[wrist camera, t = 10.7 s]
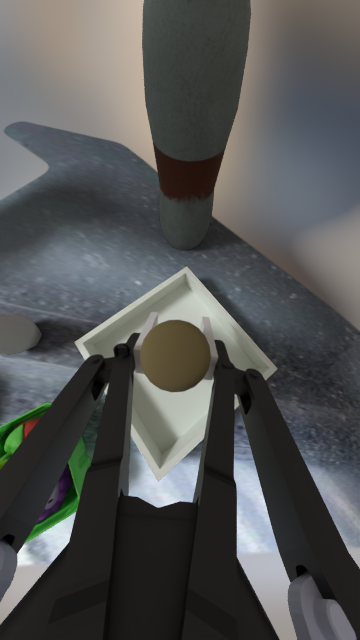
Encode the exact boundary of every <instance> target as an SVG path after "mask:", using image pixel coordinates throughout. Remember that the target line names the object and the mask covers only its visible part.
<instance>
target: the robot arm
mask: <svg viewBox="0 0 360 640" xmlns="http://www.w3.org/2000/svg"><path fill="white" fill-rule="evenodd" d="M156 325H158V312H151V313H150V315H149V318H148V320H147V322H146V324H145V326H144V328H143V330H142V332H141V333H135V332H134V333H133V334H131V335H130V337H129V339H128V340H127V342H126V343H120V344H117V345H116V346H115V347H114V348H113V351H114V357H110V358H104V356H102V355H100V354H95V355H92V356H90V357H88V358H87V359H86V360H85V362H84V363H83V364H82V366H81V367H80V368H79V369H78V371H77V372H76V373H75V375H74V376H73V377H72V378H71V380H70V381H69V382H68V384H67V385H66V386H65V387H64V389H63V390H62V391H61V392H60V394H59V395H58V396H57V398H56V399H55V400H54V401H53V403H52V404H51V405H50V407H49V408H48V409H47V410H46V412H45V413H44V414H43V416H42V417H41V418H40V419H39V421H38V422H37V423H36V425H35V426H34V427H33V428H32V430H31V431H30V432H29V434H28V435H27V436H26V437H25V439H24V440H23V441H22V442H21V444H20V445H19V446H18V448H17V449H16V450H15V451H14V453H13V454H12V455H11V457H10V458H9V459H8V460H7V462H6V463H5V464H4V466H3V467H2V468H1V469H0V602H1V600H2V598H3V596H4V594H5V592H6V591H7V589H8V588H9V586H10V584H11V582H12V580H13V577H14V573H15V571H16V566H17V553H18V552H19V550H20V549H21V548H22V546H23V544H24V543H25V541H26V540H27V538H28V536H29V535H30V533H31V531H32V530H33V528H34V527H35V525H36V523H37V521H38V519H39V518H40V516H41V514H42V512H43V510H44V508H45V506H46V504H47V502H48V501H49V499H50V497H51V495H52V493H53V491H54V489H55V487H56V485H57V483H58V481H59V479H60V477H61V475H62V473H63V471H64V469H65V467H66V465H67V463H68V461H69V459H70V457H71V455H72V453H73V452H74V450H75V448H76V446H77V444H78V442H79V440H80V438H81V436H82V434H83V432H84V430H85V428H86V426H87V424H88V422H89V420H90V418H91V416H92V414H93V412H94V410H95V408H96V406H97V405H98V403H99V401H100V399H101V397H102V395H103V393H104V391H105V389H106V387H107V385H108V383H109V385H108V389H107V394H106V399H105V403H104V408H103V413H102V417H101V422H100V427H99V431H98V436H97V441H96V445H95V450H94V454H93V459H92V463H91V465H90V466H89V467H88V469H87V471H86V474H85V477H84V481H83V486H82V490H81V494H80V499H79V503H78V507H77V511H76V516H75V520H74V524H73V529H72V533H71V537H70V542H69V543H68V544H67V546H66V547H65V548H64V549H63V550H62V552H61V553H60V554H59V555H58V556H57V558H56V559H55V560H54V561H53V562H52V564H51V565H50V566H49V567H48V568H47V570H46V571H45V572H44V573H43V574H42V576H41V577H40V578H39V579H38V580H37V582H36V583H35V584H34V585H33V587H32V588H31V589H30V590H29V591H28V593H27V594H26V595H25V596H24V597H23V598H22V600H21V601H20V602H19V603H18V604H17V606H16V607H15V608H14V609H13V611H12V612H11V613H10V614H9V615H8V617H7V618H6V619H5V620H4V621H3V622H2V624H1V625H0V640H279V638H278V636H277V634H276V632H275V630H274V628H273V626H272V624H271V622H270V620H269V618H268V617H267V614H266V612H265V611H264V609H263V607H262V605H261V603H260V601H259V599H258V597H257V595H256V593H255V591H254V589H253V588H252V586H251V584H250V582H249V580H248V578H247V576H246V574H245V572H244V570H243V568H242V566H241V564H240V563H239V560H238V558H237V491H236V483H235V481H234V406H235V394H236V395H237V398H238V402H239V405H240V409H241V413H242V417H243V420H244V424H245V428H246V432H247V435H248V439H249V443H250V447H251V450H252V454H253V458H254V462H255V465H256V469H257V473H258V477H259V480H260V484H261V488H262V492H263V495H264V499H265V503H266V507H267V510H268V514H269V518H270V522H271V525H272V529H273V533H274V536H275V539H276V543H277V546H278V549H279V553H280V556H281V558H282V561H283V564H284V567H285V569H286V572H287V575H288V577H289V580H290V582H291V584H290V586H289V589H288V605H289V611H290V615H291V618H292V621H293V625H294V629H295V632H296V636H297V640H360V569H359V567H358V566H357V564H356V563H355V561H354V560H353V558H352V557H351V555H350V554H349V553H348V550H347V548H346V546H345V544H344V542H343V540H342V538H341V536H340V534H339V532H338V530H337V528H336V526H335V524H334V522H333V519H332V517H331V515H330V513H329V511H328V509H327V507H326V505H325V503H324V501H323V499H322V497H321V495H320V493H319V491H318V489H317V487H316V484H315V482H314V480H313V478H312V476H311V474H310V472H309V470H308V468H307V466H306V464H305V462H304V460H303V458H302V456H301V454H300V451H299V449H298V447H297V445H296V443H295V441H294V439H293V437H292V435H291V433H290V431H289V429H288V427H287V425H286V423H285V421H284V418H283V416H282V414H281V412H280V410H279V408H278V406H277V404H276V402H275V400H274V398H273V396H272V394H271V392H270V390H269V388H268V385H267V383H266V381H265V379H264V377H263V375H262V374H261V373H260V372H259V371H257V370H255V369H252V368H248V369H246V371H243V370H240V369H237V368H236V367H235V366H234V364H233V363H232V362H230V359H229V356H228V353H227V350H226V347H225V344H224V342H223V341H222V340H214V337H213V332H212V328H211V324H210V319H209V317H203V316H202V322H201V328H200V330H201V332H202V333H203V334H204V335H205V336H206V339H207V341H208V343H209V345H210V352H211V360H210V365H209V369H208V371H207V373H206V375H205V377H204V378H203V380H212V378H213V379H214V382H213V385H212V389H211V390H212V392H211V398H210V404H209V410H208V416H207V422H206V429H205V435H204V441H203V447H202V453H201V459H200V465H199V471H198V477H197V483H196V488H195V493H194V498H193V503H191V502H181V501H180V502H177V503H174V504H170V505H167V506H164V507H160V508H157V507H155V506H153V505H151V504H149V503H148V502H146V501H144V500H142V499H140V498H138V497H132V496H128V493H129V484H128V474H129V456H130V438H131V420H132V402H133V384H134V371H135V372H136V373H140V374H144V372H143V369H142V366H141V363H140V350H141V346H142V343H143V340H144V338H145V337H146V336H147V334H148V333H149V331H150V330H151V329H153V328H154V327H155V326H156Z"/></svg>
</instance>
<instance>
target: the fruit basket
mask: <svg viewBox="0 0 360 640" xmlns="http://www.w3.org/2000/svg"><path fill="white" fill-rule="evenodd" d="M51 404H52V403H44V404H43V405H41V406H39V407H37V408H35V409H33V410H31V411H29V412H27V413H26V414H24V415H22V416H20V417H18V418H16V419H14V420H12V421H10V422H8V423H6V424H4V425H2V426H0V469H1V468H2V467H3V466H4V464H5V463H6V462H7V460H8V459H9V458H10V457H11V455H12V454H13V453H14V451H15V450H16V449H17V448H18V446H19V445H20V444H21V442H22V441H23V440H24V439H25V437H26V436H27V435H28V434H29V432H30V431H31V430H32V428H33V427H34V426H35V425H36V423H37V422H38V421H39V419H40V418H41V417H42V416H43V414H44V413H45V412H46V410H47V409H48V408H49V407H50V405H51ZM90 465H91V463H90V460H89V457H88V456H87V455H86V447H85V444H84V441H83V438H82V437H81V438H80V440H79V442H78V444H77V446H76V448H75V450H74V452H73V453H72V455H71V457H70V459H69V461H68V463H67V465H66V467H65V469H64V471H63V473H62V475H61V477H60V479H59V481H58V483H57V485H56V487H55V489H54V491H53V493H52V495H51V497H50V499H49V501H48V502H47V504H46V506H45V508H44V510H43V512H42V514H41V516H40V518H39V519H38V521H37V523H36V525H35V527H34V528H33V530H32V531H31V533H30V535H29V536H28V538H27V540H26V541H25V543H26V542H27V541H29V540H31V539H33V538H35V537H36V536H38V535H39V534H41V533H43V532H44V531H46V530H47V529H49V528H51V527H52V526H54V525H55V524H57V523H59V522H60V521H62V520H64V519H66V518H67V517H68V516H70V515H72V514H73V513H74V512H76V511H77V507H78V503H79V499H80V494H81V490H82V486H83V481H84V477H85V474H86V471H87V469H88V467H89V466H90Z"/></svg>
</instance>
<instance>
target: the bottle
mask: <svg viewBox="0 0 360 640" xmlns="http://www.w3.org/2000/svg"><path fill="white" fill-rule="evenodd" d="M250 16H251V8H250V0H144V5H143V33H142V48H143V67H144V86H145V101H146V108H147V113H148V119H149V124H150V128H151V134H152V139H153V145H154V152H155V158H156V164H157V170H158V176H159V182H160V196H159V216H160V223H161V227H162V231H163V234H164V236H165V238H166V240H167V242H168V243H169V244H170V245H171V246H172V247H174V248H176V249H179V250H190V249H193V248H196V247H197V246H198V245H199V244H200V243H201V242H202V240H203V238H204V237H205V235H206V233H207V230H208V228H209V225H210V222H211V216H212V207H213V197H214V187H215V183H216V180H217V176H218V173H219V169H220V166H221V162H222V158H223V155H224V151H225V148H226V144H227V141H228V138H229V134H230V131H231V128H232V125H233V122H234V119H235V115H236V112H237V109H238V103H239V98H240V92H241V85H242V80H243V74H244V68H245V62H246V56H247V50H248V40H249V29H250V18H251V17H250Z"/></svg>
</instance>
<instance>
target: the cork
mask: <svg viewBox="0 0 360 640" xmlns="http://www.w3.org/2000/svg"><path fill="white" fill-rule="evenodd" d="M210 360H211V352H210V345H209V343H208V341H207V339H206V336H205V335H204V334H203V333H202V332H201V330H200V329H199V328H198V327H196V326H195V325H193V324H191V323H190V322H187V321H183V320H168V321H165V322H162V323H159V324H158V325H156V326H155V327H154V328H153V329H151V330H150V331H149V333H148V334H147V336H146V337H145V338H144V340H143V343H142V346H141V350H140V363H141V366H142V369H143V372H144V374H145V375H146V377H147V378H148V380H149V381H150V382H151V383H152V384H153V385H155V386H156V387H158V388H159V389H161V390H165V391H168V392H184V391H186V390H189V389H191V388H193V387H195V386H196V385H197V384H198V383H199V382H200V381H201V380H203V378H204V377H205V375H206V373H207V371H208V369H209V365H210Z"/></svg>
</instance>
